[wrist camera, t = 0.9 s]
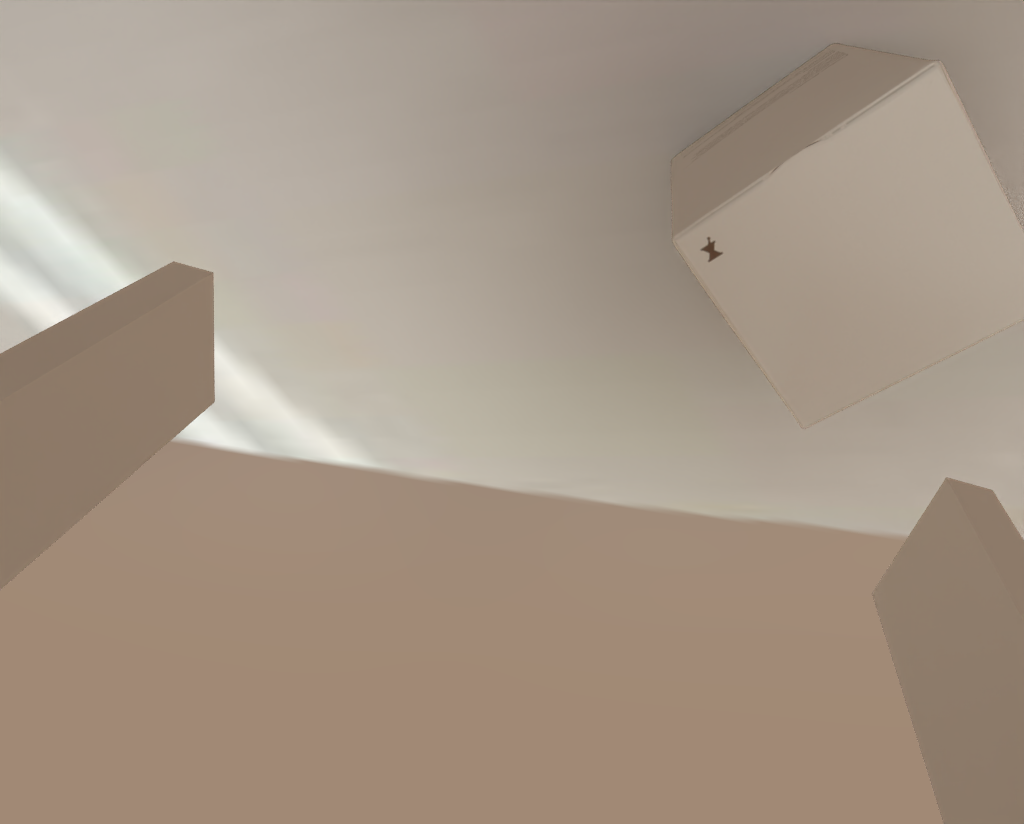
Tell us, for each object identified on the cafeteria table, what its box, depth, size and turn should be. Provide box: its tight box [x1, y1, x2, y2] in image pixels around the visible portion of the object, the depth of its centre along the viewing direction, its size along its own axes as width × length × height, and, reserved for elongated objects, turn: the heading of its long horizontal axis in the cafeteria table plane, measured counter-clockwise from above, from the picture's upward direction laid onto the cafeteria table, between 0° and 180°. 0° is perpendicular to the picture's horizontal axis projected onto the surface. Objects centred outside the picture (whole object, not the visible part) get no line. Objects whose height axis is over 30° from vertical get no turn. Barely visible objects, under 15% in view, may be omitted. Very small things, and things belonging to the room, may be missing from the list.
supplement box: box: [671, 43, 1024, 429], centre depth 30 cm, size 9×9×15 cm
